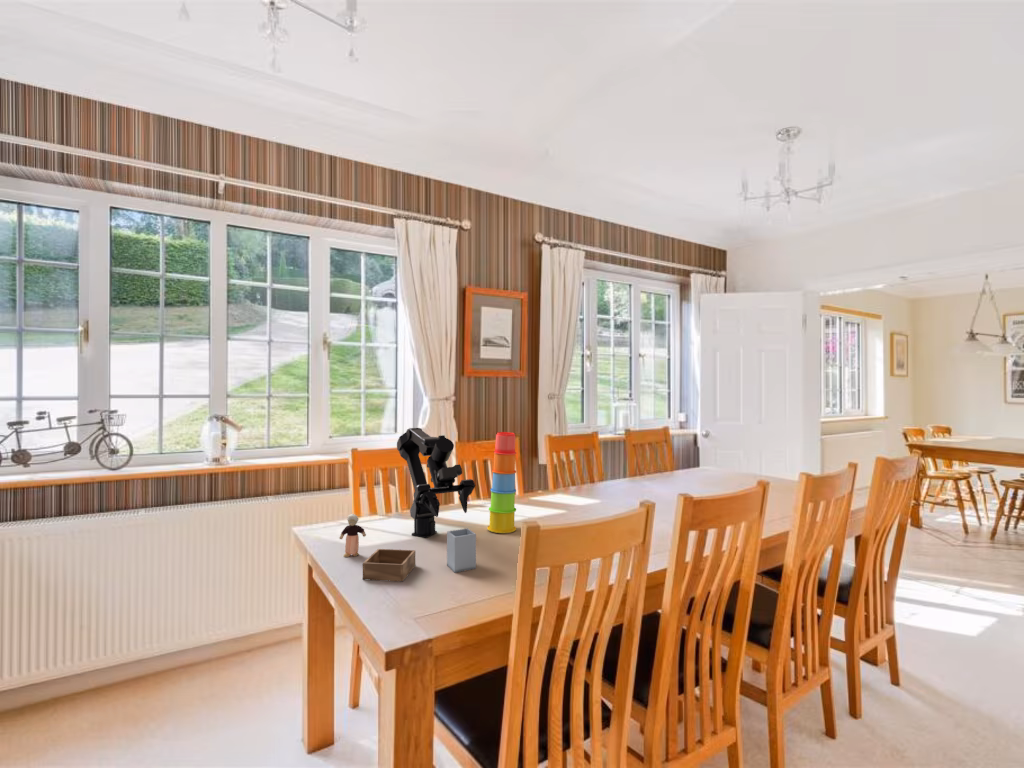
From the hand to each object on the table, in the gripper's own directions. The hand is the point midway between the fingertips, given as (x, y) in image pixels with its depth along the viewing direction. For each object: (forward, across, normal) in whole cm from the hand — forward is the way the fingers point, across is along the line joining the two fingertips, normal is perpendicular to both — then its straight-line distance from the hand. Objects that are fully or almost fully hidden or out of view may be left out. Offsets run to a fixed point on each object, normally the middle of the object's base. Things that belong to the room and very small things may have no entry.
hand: (451, 514), depth 153 cm
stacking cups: (-2, +26, +22) cm, 34 cm away
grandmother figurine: (-2, -26, +22) cm, 34 cm away
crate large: (+11, -19, +8) cm, 24 cm away
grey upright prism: (+15, 0, +4) cm, 16 cm away
